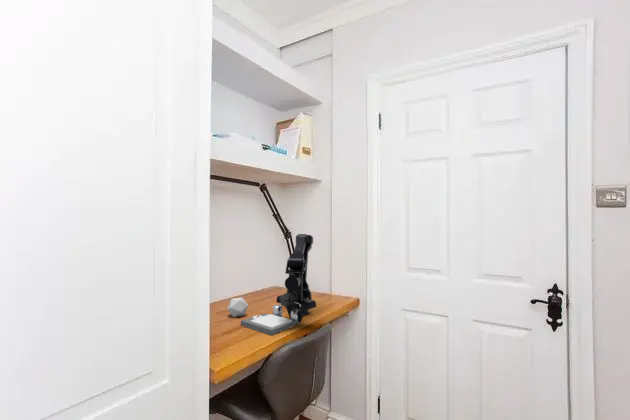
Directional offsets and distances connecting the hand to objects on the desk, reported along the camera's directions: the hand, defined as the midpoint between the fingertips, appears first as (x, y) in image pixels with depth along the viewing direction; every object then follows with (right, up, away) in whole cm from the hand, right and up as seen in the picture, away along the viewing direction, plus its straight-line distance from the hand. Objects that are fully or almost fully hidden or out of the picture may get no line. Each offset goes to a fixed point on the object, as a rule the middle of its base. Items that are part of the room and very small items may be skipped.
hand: (295, 321), depth 145 cm
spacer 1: (-9, -1, +7) cm, 11 cm away
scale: (-12, -1, -3) cm, 12 cm away
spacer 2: (0, -1, 0) cm, 1 cm away
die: (-28, -1, +11) cm, 30 cm away
